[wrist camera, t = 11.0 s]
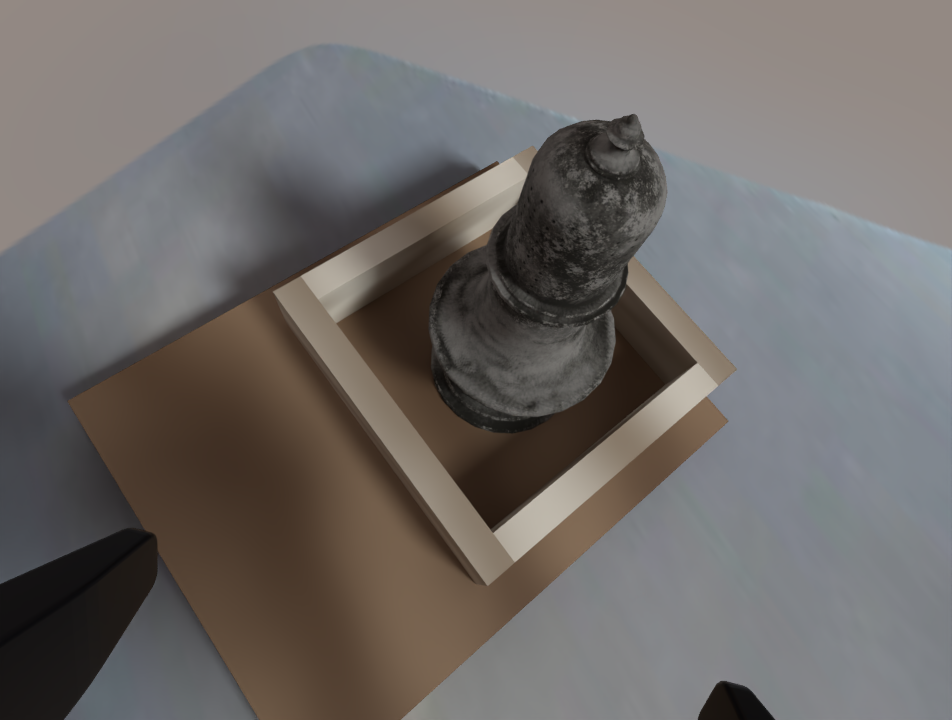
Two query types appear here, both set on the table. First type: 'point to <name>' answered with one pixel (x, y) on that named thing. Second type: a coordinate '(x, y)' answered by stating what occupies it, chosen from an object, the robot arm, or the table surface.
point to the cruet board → (382, 466)
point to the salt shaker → (547, 280)
